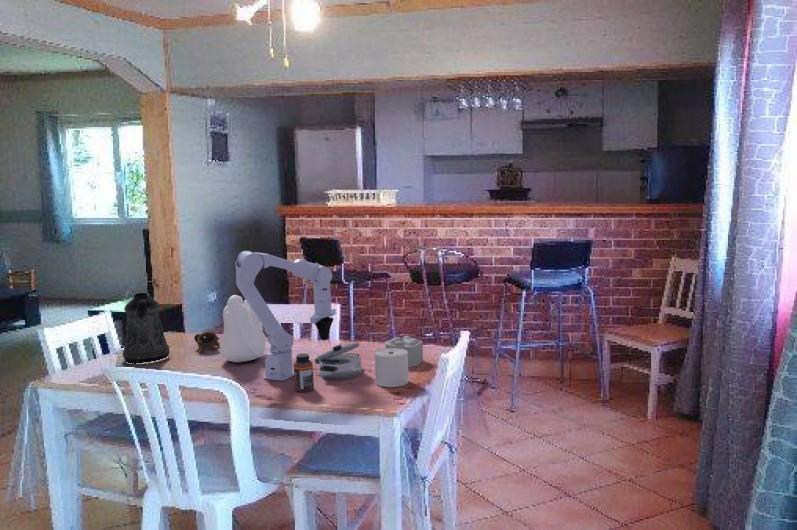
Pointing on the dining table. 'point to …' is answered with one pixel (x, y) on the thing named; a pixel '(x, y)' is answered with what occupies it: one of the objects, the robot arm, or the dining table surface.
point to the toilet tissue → (391, 367)
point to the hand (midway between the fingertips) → (324, 339)
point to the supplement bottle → (303, 373)
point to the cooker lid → (338, 350)
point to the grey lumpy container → (408, 348)
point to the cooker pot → (340, 366)
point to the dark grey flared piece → (144, 331)
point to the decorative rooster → (241, 332)
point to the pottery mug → (206, 341)
